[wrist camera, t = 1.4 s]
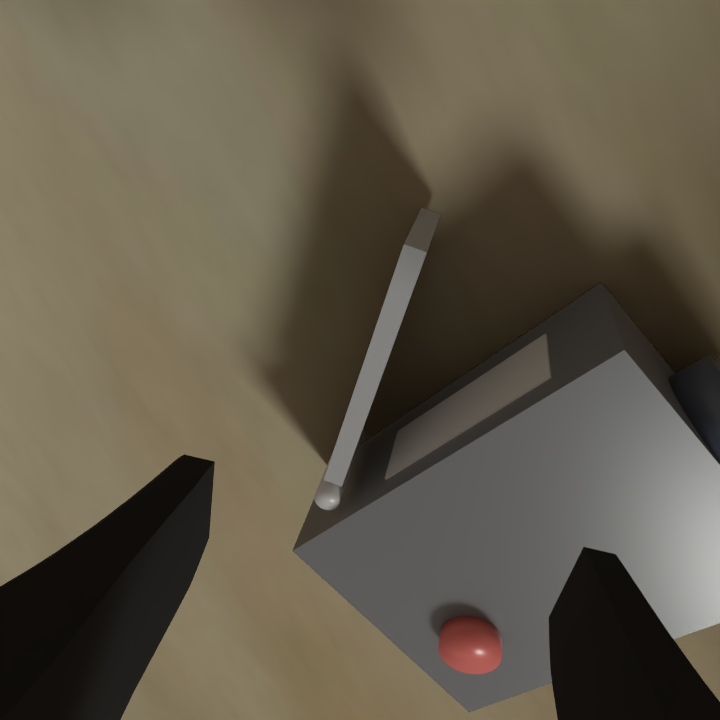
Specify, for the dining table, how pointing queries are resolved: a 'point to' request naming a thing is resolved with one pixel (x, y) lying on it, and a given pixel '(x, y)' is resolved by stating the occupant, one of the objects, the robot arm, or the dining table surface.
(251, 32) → the dining table surface
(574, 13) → the dining table surface
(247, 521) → the dining table surface
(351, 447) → the side door
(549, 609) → the camera body
